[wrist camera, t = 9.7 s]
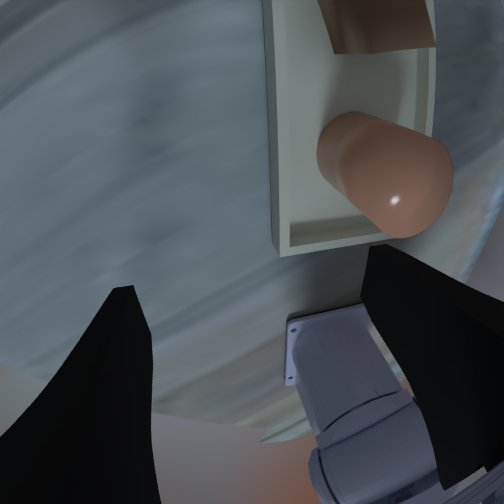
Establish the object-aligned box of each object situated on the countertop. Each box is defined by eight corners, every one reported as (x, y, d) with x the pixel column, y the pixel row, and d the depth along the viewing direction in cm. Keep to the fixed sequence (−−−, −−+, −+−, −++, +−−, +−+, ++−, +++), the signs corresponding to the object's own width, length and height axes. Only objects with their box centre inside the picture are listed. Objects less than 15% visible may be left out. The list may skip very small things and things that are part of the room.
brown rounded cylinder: (385, 185, 19) (443, 229, 14) (316, 195, 18) (365, 246, 14) (389, 111, 16) (458, 136, 11) (314, 112, 16) (373, 136, 11)
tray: (401, 222, 22) (415, 234, 20) (272, 242, 20) (279, 257, 19) (414, -8, 12) (432, -10, 11) (259, -36, 11) (268, -47, 9)
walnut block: (391, 45, 14) (436, 47, 11) (334, 54, 14) (373, 53, 11) (373, -14, 12) (416, -25, 8) (313, -10, 12) (348, -27, 8)
